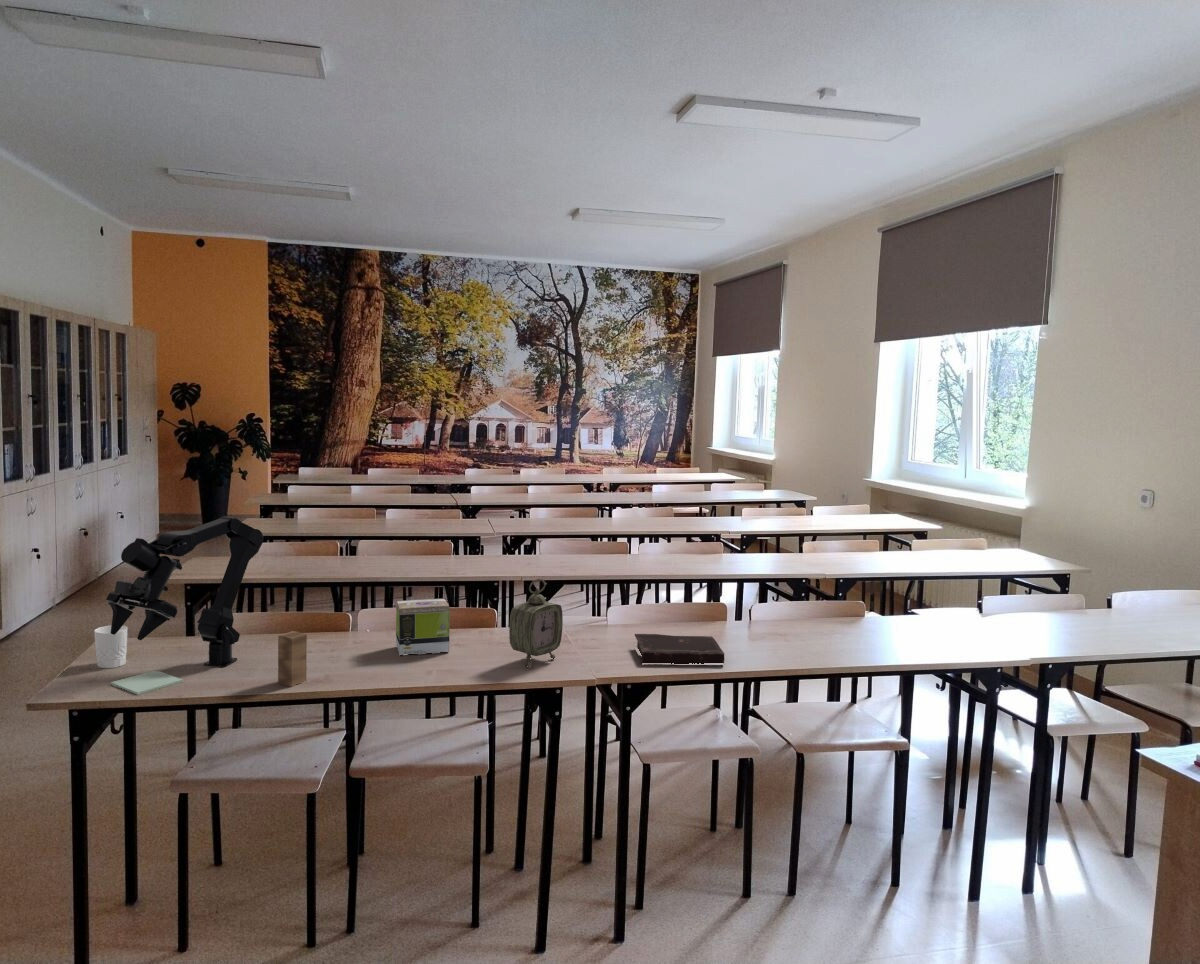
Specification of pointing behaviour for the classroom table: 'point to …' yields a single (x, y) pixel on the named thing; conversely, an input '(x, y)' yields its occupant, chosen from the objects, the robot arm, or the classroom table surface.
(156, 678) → the green mat
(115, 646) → the white cup
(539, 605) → the tabletop clock
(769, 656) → the classroom table surface
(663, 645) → the diary
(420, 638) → the tea box
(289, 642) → the walnut block
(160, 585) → the robot arm
